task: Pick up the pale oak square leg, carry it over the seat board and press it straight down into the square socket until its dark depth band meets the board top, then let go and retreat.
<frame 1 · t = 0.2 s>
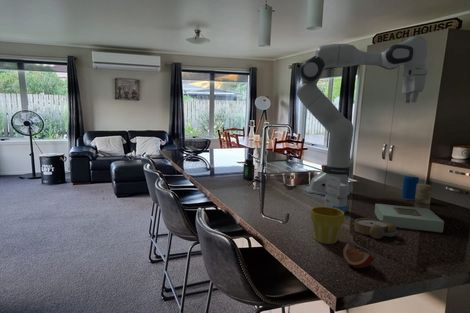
hand: (410, 102, 148), 47 cm above the kitchen island counter, fingers open, 8 cm apart
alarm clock: (374, 234, 108), on the kitchen island counter
seat board: (405, 221, 121), on the kitchen island counter
beverage can: (408, 199, 155), on the kitchen island counter
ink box: (335, 210, 133), on the kitchen island counter
fruit slice: (357, 266, 84), on the kitchen island counter
plant pot: (325, 240, 101), on the kitchen island counter
leg: (420, 212, 134), on the kitchen island counter
supplement bottle: (248, 179, 190), on the kitchen island counter
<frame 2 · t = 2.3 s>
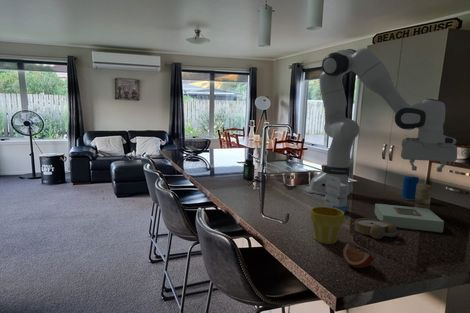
hand: (426, 171, 131), 18 cm above the kitchen island counter, fingers open, 8 cm apart
nothing on the kitchen island counter moved.
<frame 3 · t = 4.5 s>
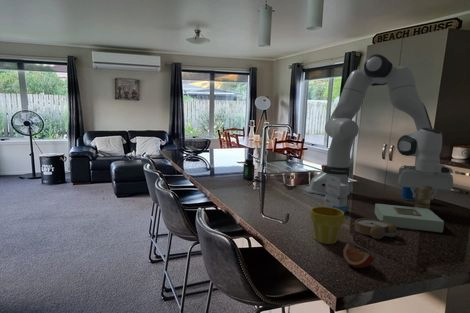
hand: (422, 198, 133), 6 cm above the kitchen island counter, fingers closed on leg, 4 cm apart
leg: (420, 212, 134), on the kitchen island counter, touching gripper
everything else where it was.
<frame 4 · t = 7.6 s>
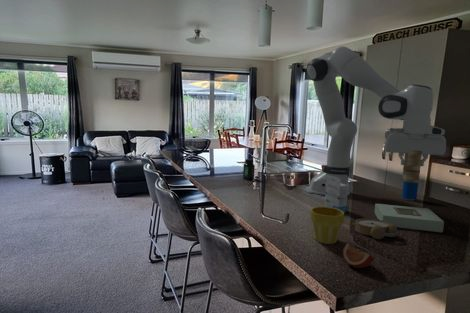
hand: (411, 165, 118), 22 cm above the kitchen island counter, fingers closed on leg, 4 cm apart
leg: (410, 181, 118), point 16 cm above the kitchen island counter, touching gripper
everything else where it was.
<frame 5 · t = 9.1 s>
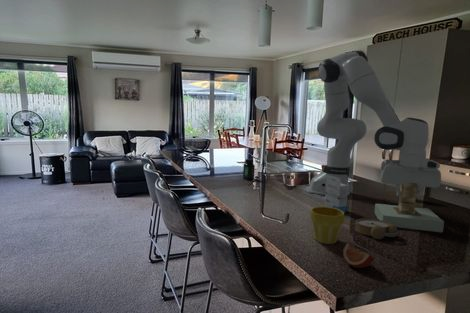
hand: (407, 196, 119), 10 cm above the kitchen island counter, fingers closed on leg, 4 cm apart
leg: (405, 211, 120), point 4 cm above the kitchen island counter, touching gripper
everything else where it was.
when the fingers open (6 cm above the kitchen island counter, at t = 10.6 s): leg stays where it is, resting in seat board.
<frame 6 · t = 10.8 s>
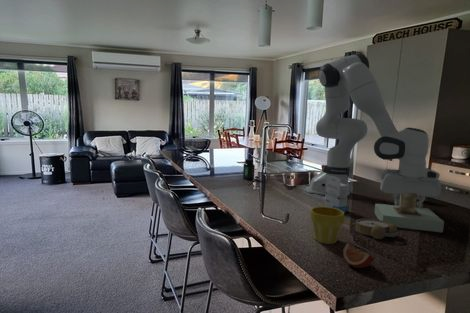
hand: (407, 205, 120), 6 cm above the kitchen island counter, fingers open, 6 cm apart
leg: (405, 221, 121), resting in seat board
everything else where it was.
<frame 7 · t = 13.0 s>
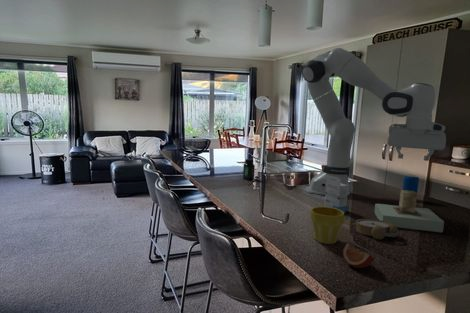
hand: (413, 159, 125), 24 cm above the kitchen island counter, fingers open, 8 cm apart
nothing on the kitchen island counter moved.
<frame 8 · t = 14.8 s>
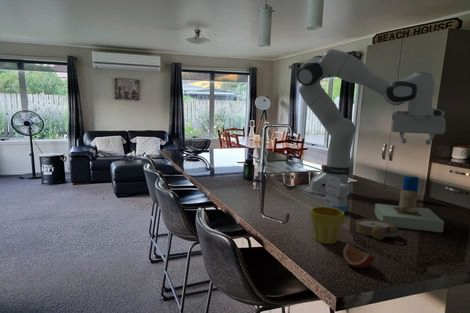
hand: (415, 143, 134), 29 cm above the kitchen island counter, fingers open, 8 cm apart
nothing on the kitchen island counter moved.
at the end: leg 0.1 cm off-centre on the seat board, point 0.0 cm above the seat board's base; leg tilted 0°; the gripper is holding nothing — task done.
